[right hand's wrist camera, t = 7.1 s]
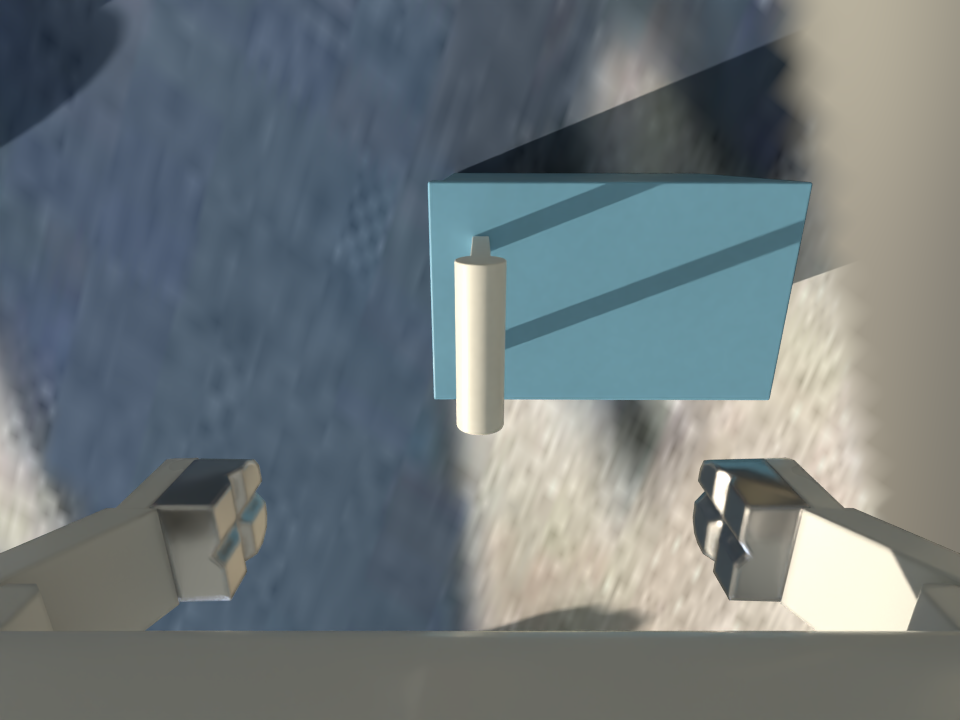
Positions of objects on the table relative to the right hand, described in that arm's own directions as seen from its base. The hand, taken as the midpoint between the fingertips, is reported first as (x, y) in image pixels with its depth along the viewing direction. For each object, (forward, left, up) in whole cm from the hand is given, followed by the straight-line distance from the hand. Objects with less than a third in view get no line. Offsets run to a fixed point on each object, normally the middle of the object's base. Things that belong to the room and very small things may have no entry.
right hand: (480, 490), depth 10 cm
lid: (+2, +5, -16) cm, 17 cm away
